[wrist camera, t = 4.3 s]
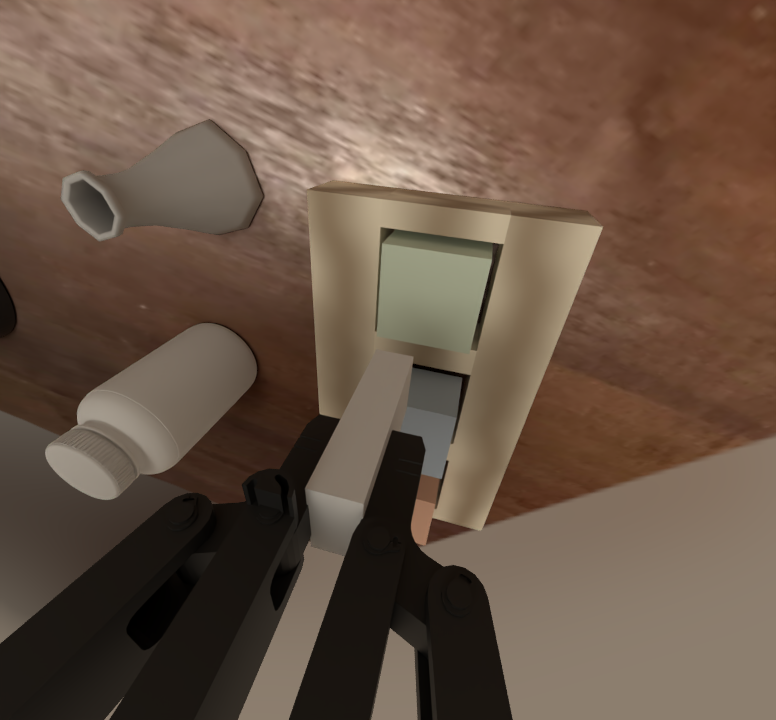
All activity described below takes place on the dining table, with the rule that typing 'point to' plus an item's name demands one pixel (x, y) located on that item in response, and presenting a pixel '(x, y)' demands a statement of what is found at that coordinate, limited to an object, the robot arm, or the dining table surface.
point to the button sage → (432, 289)
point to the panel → (492, 335)
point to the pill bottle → (153, 411)
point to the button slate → (432, 415)
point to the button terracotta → (424, 508)
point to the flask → (170, 188)
